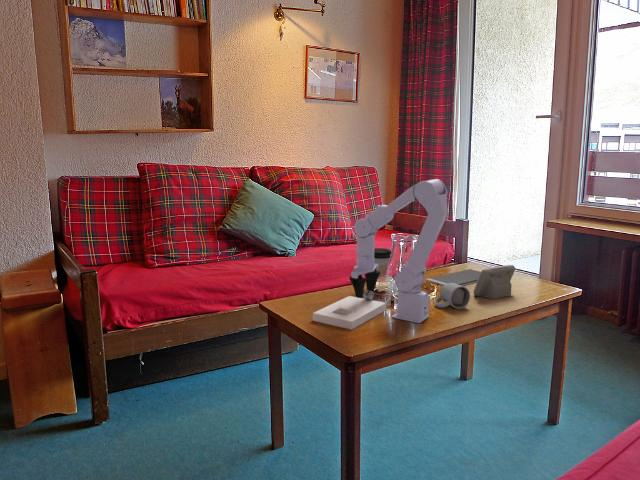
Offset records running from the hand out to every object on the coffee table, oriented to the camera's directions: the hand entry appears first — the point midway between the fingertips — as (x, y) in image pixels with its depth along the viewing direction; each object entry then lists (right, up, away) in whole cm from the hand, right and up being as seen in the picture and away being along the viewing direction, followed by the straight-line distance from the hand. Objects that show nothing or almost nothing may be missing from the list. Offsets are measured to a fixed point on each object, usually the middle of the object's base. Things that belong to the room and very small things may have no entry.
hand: (364, 294), depth 179 cm
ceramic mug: (+29, -4, +4) cm, 30 cm away
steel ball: (+1, 0, +1) cm, 2 cm away
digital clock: (+48, -2, +17) cm, 51 cm away
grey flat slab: (+42, +2, +37) cm, 56 cm away
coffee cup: (+7, -1, +22) cm, 23 cm away
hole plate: (-5, -6, -6) cm, 10 cm away
